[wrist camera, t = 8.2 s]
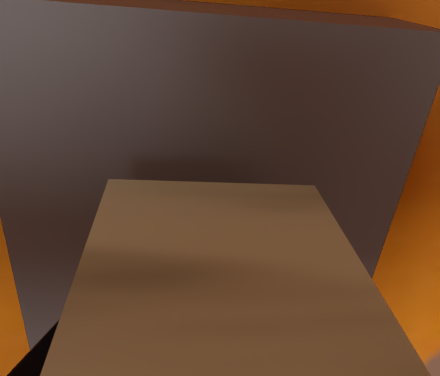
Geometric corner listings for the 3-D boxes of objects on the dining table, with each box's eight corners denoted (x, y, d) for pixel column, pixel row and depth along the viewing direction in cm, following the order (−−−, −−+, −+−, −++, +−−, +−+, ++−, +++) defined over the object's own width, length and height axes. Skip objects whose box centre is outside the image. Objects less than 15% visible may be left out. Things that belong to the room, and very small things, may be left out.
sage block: (283, 326, 12) (358, 595, 7) (117, 328, 12) (65, 622, 6) (314, 185, 10) (466, 433, 5) (108, 178, 9) (13, 452, 4)
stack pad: (316, 282, 19) (346, 352, 16) (61, 281, 18) (31, 357, 14) (386, 16, 13) (457, 33, 10) (17, -15, 12) (-50, -8, 9)
